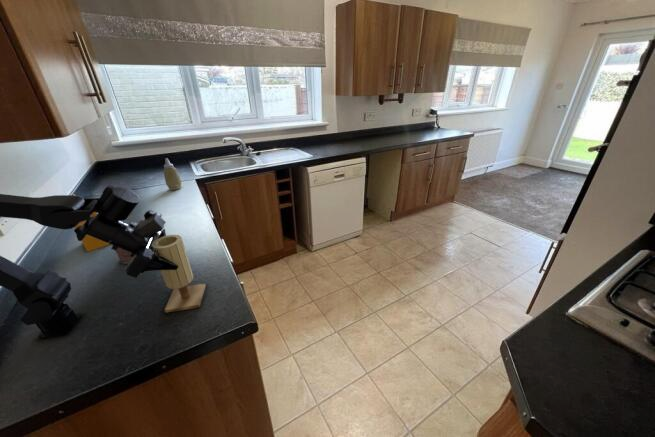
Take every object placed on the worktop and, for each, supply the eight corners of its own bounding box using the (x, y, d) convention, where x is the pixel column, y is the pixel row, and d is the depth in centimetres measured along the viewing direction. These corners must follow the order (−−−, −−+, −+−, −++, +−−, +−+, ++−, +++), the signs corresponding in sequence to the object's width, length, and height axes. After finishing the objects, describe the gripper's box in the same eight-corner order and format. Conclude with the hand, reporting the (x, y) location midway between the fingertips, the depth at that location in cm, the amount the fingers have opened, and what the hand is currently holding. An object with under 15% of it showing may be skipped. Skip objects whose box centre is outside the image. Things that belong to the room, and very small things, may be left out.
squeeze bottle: (182, 189, 156) (173, 159, 148) (167, 192, 154) (157, 161, 145) (183, 185, 163) (175, 155, 154) (168, 187, 160) (159, 157, 152)
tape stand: (165, 312, 74) (159, 299, 72) (175, 290, 82) (170, 277, 80) (199, 307, 76) (195, 294, 73) (206, 285, 83) (202, 273, 81)
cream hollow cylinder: (160, 287, 73) (145, 246, 67) (177, 272, 79) (165, 233, 73) (182, 290, 72) (168, 249, 66) (198, 274, 78) (187, 235, 72)
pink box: (146, 257, 97) (137, 234, 93) (141, 263, 94) (131, 239, 90) (124, 258, 97) (113, 234, 92) (118, 264, 94) (106, 240, 90)
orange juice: (107, 235, 112) (86, 190, 102) (111, 243, 106) (89, 197, 97) (84, 243, 107) (59, 196, 98) (86, 251, 101) (60, 203, 92)
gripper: (123, 226, 56) (193, 258, 64) (144, 193, 71) (199, 222, 80) (94, 264, 57) (166, 291, 66) (121, 224, 73) (177, 250, 81)
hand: (179, 260), depth 73 cm, fingers closed on cream hollow cylinder, 7 cm apart
